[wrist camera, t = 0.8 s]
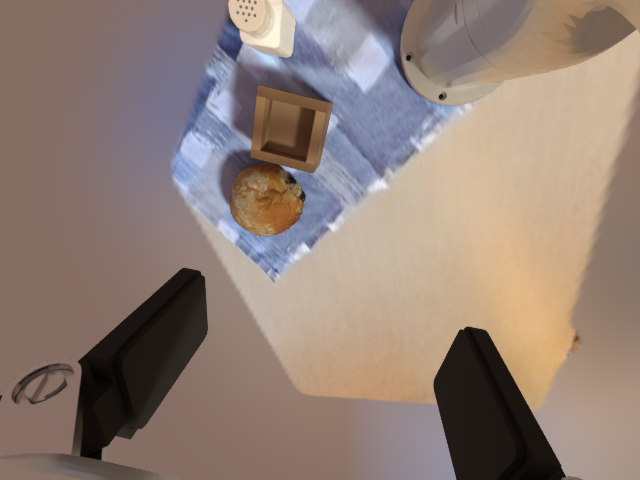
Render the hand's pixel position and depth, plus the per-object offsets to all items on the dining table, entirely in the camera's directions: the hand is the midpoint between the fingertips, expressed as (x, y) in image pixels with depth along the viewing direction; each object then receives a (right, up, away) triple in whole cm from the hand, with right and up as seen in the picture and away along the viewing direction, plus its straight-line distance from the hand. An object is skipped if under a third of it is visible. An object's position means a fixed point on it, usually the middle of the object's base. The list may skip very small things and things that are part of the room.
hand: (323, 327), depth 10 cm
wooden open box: (-3, +18, +25) cm, 31 cm away
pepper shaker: (-5, +26, +21) cm, 34 cm away
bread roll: (-7, +10, +29) cm, 32 cm away
